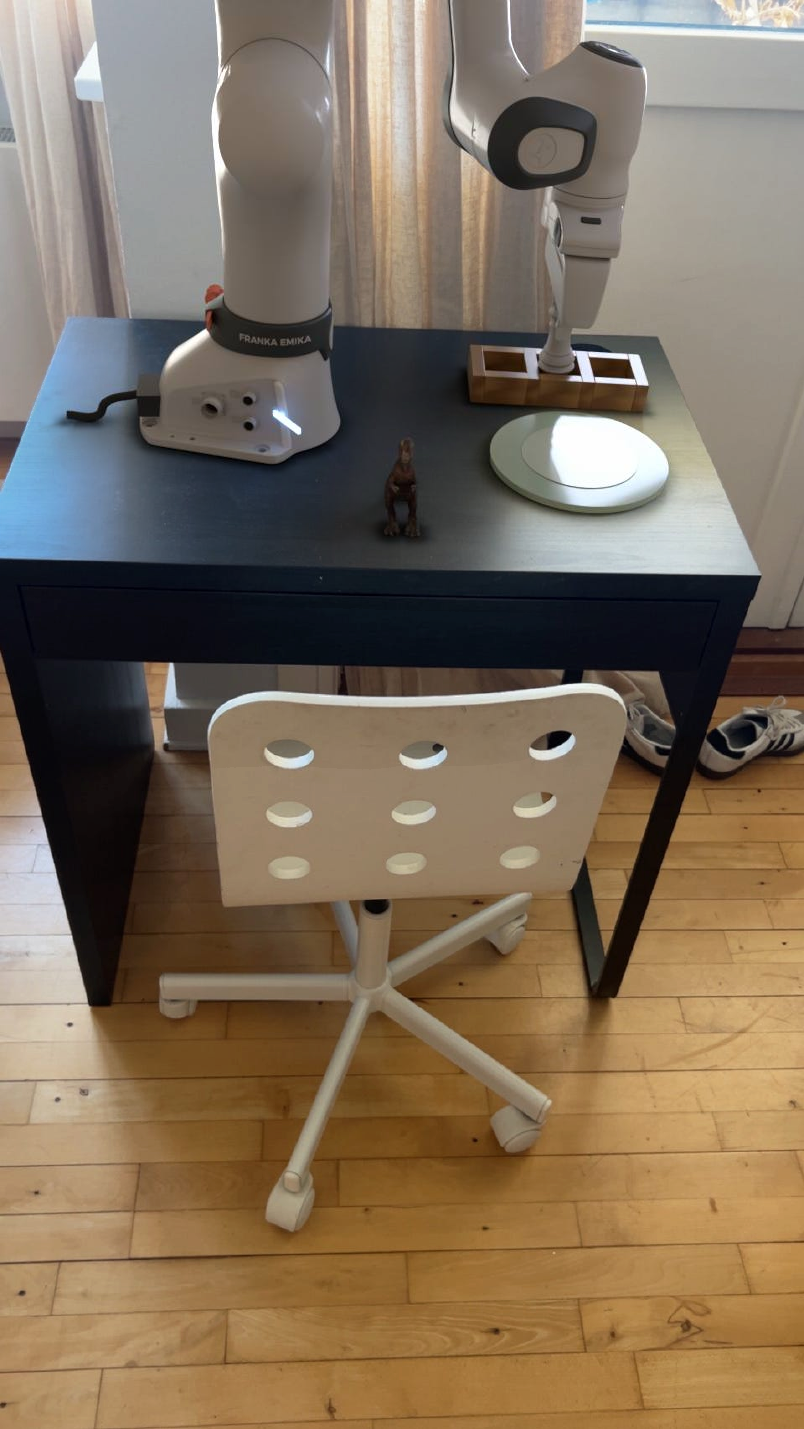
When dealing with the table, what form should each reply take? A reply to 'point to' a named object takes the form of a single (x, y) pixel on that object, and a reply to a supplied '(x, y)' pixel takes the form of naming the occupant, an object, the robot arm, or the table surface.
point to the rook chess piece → (556, 351)
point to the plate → (579, 462)
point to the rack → (556, 380)
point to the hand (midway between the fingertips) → (559, 330)
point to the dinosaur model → (402, 490)
